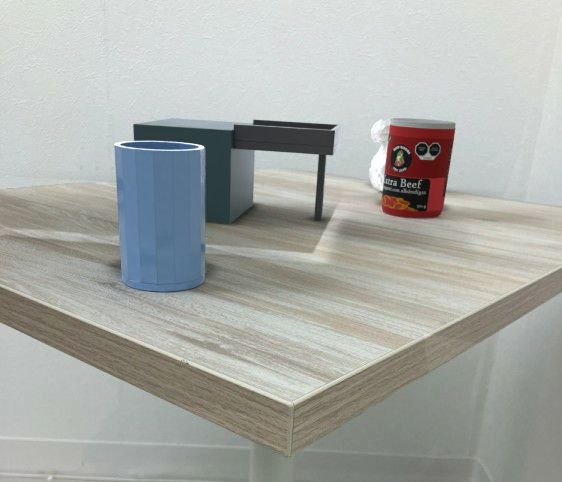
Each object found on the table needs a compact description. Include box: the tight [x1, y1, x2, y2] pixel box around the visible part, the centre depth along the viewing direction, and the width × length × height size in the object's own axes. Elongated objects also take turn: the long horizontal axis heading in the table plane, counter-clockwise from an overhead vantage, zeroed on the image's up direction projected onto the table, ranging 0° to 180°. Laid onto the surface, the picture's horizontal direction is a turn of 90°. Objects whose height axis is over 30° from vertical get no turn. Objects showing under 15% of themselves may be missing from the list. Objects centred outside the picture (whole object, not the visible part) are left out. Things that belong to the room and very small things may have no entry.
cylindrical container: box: [113, 140, 206, 293], centre depth 49 cm, size 6×6×10 cm
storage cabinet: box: [132, 117, 344, 225], centre depth 70 cm, size 20×12×10 cm, turn 81°
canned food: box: [380, 117, 456, 219], centre depth 80 cm, size 8×8×11 cm
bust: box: [368, 118, 392, 192], centre depth 95 cm, size 12×8×11 cm
